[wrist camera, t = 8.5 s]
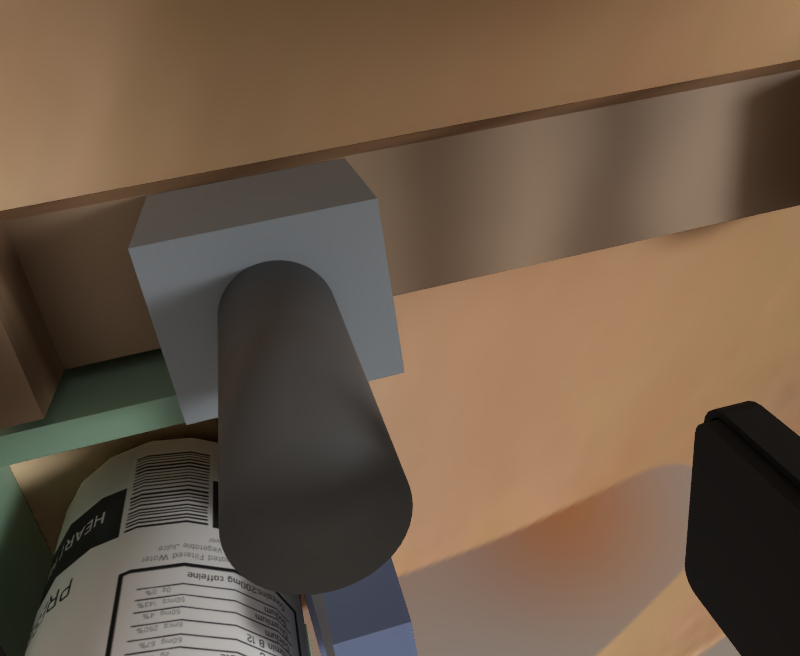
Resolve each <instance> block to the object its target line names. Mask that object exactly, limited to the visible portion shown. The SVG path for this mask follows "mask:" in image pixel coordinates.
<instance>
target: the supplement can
mask: <svg viewBox="0 0 800 656" xmlns="http://www.w3.org/2000/svg"><path fill="white" fill-rule="evenodd" d="M25 656H309V653H308V646H307V639H306V632H305V625H304V618H303V611H302V604H301V597H300V595H290V594H283V593H278V592H274V591H271V590H267V589H264V588H262V587H260V586H258V585H255V584H254V583H252V582H250V581H249V580H247V579H246V578H244V577H243V576H242V575H241V574H239V573H238V572H237V571H236V569H235V568H234V567H233V566H232V565H231V564H230V562H229V561H228V559H227V558H226V556H225V554H224V551H223V549H222V546H221V542H220V538H219V502H218V443H216V442H211V441H206V440H201V439H196V438H182V439H172V440H161V441H150V442H148V443H145V444H143V445H140V446H138V447H135V448H133V449H130V450H128V451H125V452H123V453H120V454H118V455H115V456H113V457H111V458H110V459H109V460H107V461H106V462H105V463H104V464H103V465H101V466H100V467H99V468H98V469H97V470H96V471H94V472H93V473H92V474H91V475H90V476H88V477H87V478H86V479H85V480H84V481H83V482H82V483H81V485H80V487H79V489H78V491H77V493H76V495H75V497H74V498H73V500H72V502H71V504H70V506H69V508H68V510H67V512H66V515H65V519H64V522H63V526H62V529H61V532H60V536H59V539H58V543H57V546H56V550H55V553H54V556H53V560H52V563H51V567H50V570H49V574H48V577H47V580H46V584H45V587H44V591H43V594H42V598H41V601H40V604H39V608H38V611H37V615H36V618H35V622H34V625H33V628H32V632H31V635H30V639H29V642H28V646H27V649H26V652H25Z"/></svg>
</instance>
